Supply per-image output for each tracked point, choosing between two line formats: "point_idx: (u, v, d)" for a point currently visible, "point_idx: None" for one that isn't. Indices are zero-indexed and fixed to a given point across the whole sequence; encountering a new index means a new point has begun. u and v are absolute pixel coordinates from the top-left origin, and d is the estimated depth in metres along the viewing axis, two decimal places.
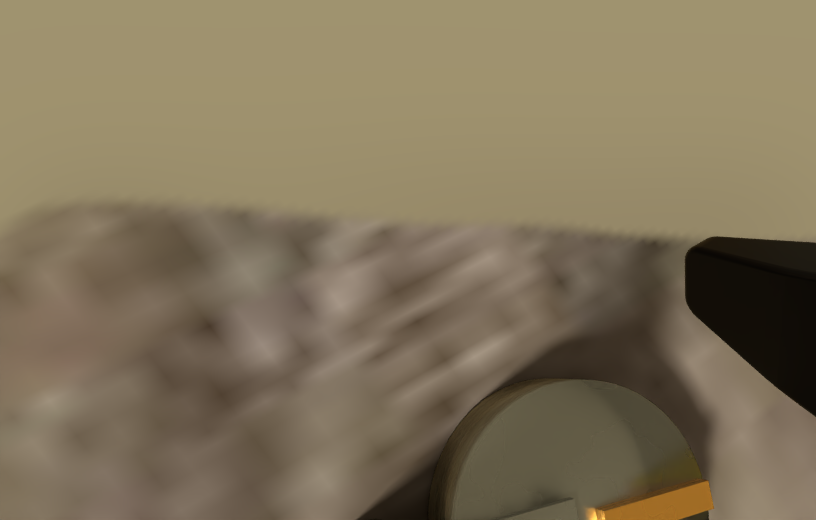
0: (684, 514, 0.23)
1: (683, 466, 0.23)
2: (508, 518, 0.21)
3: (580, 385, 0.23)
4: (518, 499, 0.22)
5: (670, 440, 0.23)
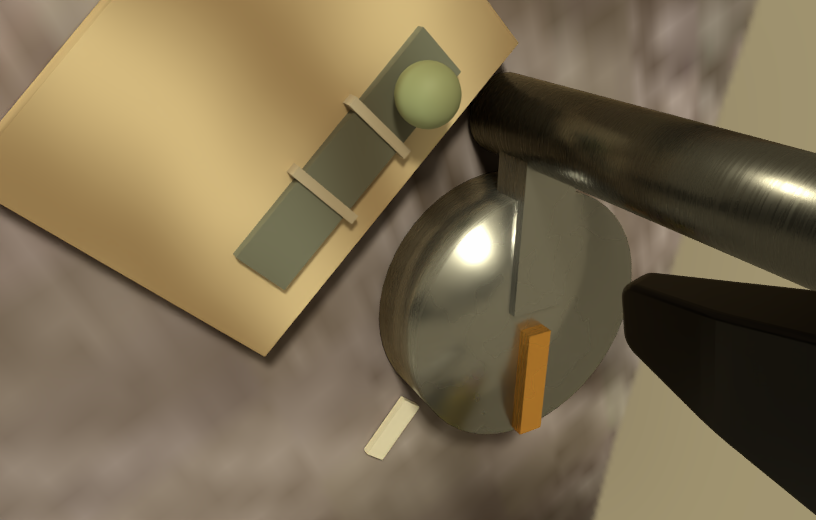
0: (524, 407, 0.25)
1: (543, 405, 0.26)
2: (568, 241, 0.23)
3: (622, 308, 0.26)
4: (569, 251, 0.24)
5: (564, 391, 0.26)
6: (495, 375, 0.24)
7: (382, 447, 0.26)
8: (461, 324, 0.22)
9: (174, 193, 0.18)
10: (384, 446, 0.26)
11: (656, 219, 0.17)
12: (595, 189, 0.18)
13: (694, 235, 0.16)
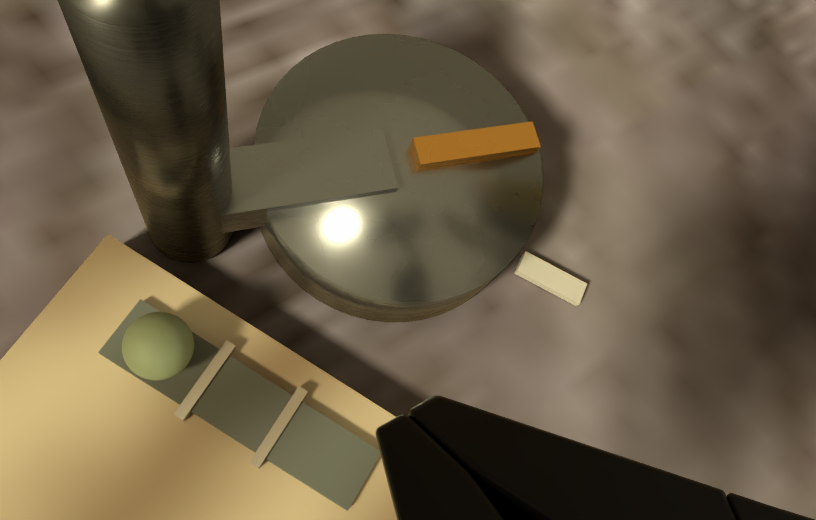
0: (506, 148, 0.22)
1: (509, 117, 0.23)
2: (308, 138, 0.21)
3: (390, 39, 0.23)
4: (323, 129, 0.21)
5: (493, 93, 0.23)
6: (470, 191, 0.22)
7: (571, 287, 0.24)
8: (409, 249, 0.21)
9: None
10: (571, 284, 0.24)
11: (213, 126, 0.15)
12: (211, 173, 0.17)
13: (210, 98, 0.14)
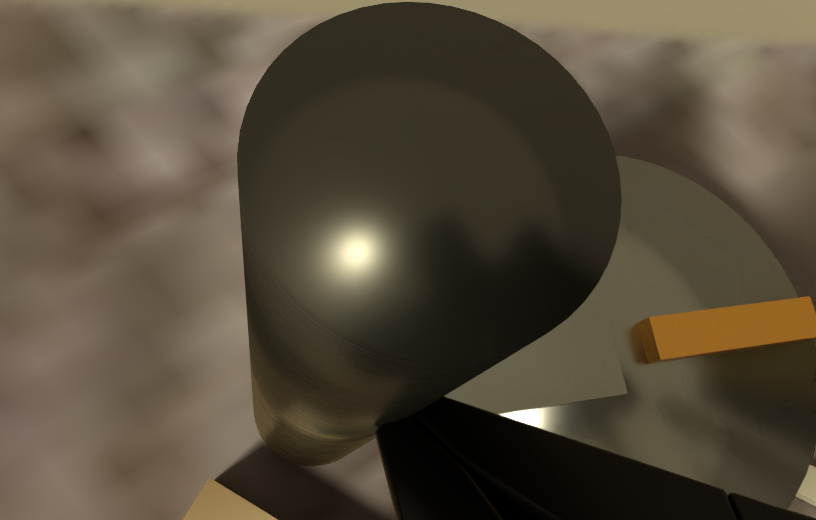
0: (777, 338, 0.15)
1: (770, 283, 0.16)
2: None
3: None
4: None
5: (746, 246, 0.16)
6: (722, 397, 0.15)
7: None
8: None
9: None
10: None
11: None
12: None
13: None
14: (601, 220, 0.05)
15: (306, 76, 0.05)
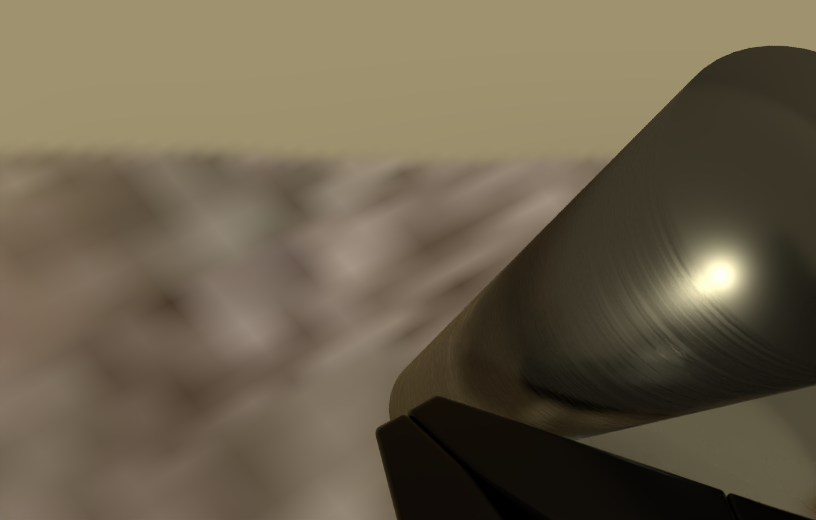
0: None
1: None
2: (662, 437, 0.14)
3: None
4: (684, 435, 0.14)
5: None
6: None
7: None
8: None
9: None
10: None
11: None
12: None
13: None
14: None
15: (757, 74, 0.06)
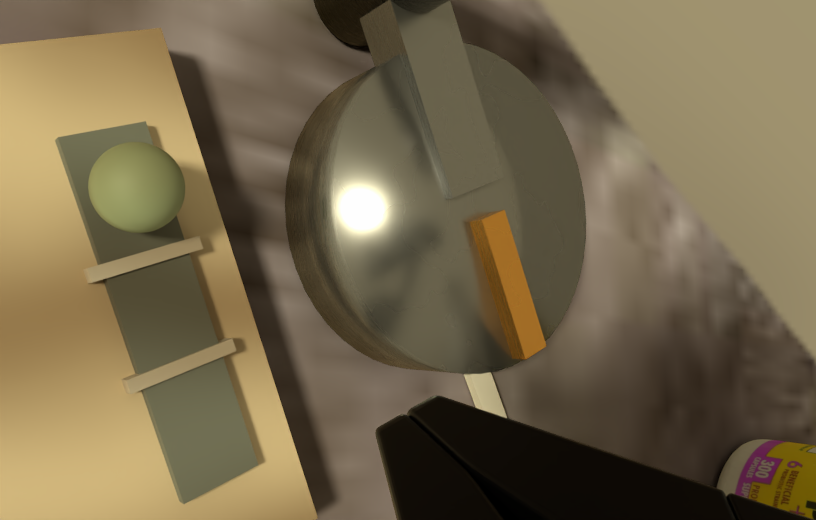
0: (515, 319, 0.19)
1: (539, 324, 0.20)
2: (478, 97, 0.19)
3: (577, 185, 0.22)
4: (486, 116, 0.20)
5: (556, 302, 0.21)
6: (462, 286, 0.19)
7: None
8: (392, 219, 0.17)
9: None
10: None
11: None
12: None
13: None
14: None
15: None
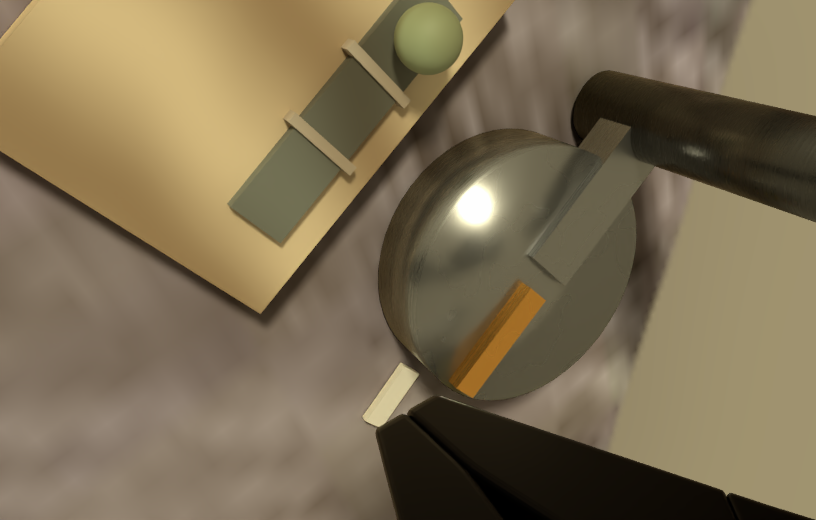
0: (479, 360, 0.23)
1: None
2: (605, 231, 0.24)
3: (585, 347, 0.26)
4: (594, 246, 0.24)
5: (501, 387, 0.24)
6: (477, 307, 0.22)
7: (381, 414, 0.25)
8: (496, 224, 0.22)
9: (166, 136, 0.17)
10: (383, 414, 0.25)
11: (769, 172, 0.19)
12: (709, 145, 0.20)
13: (809, 184, 0.18)
14: None
15: None
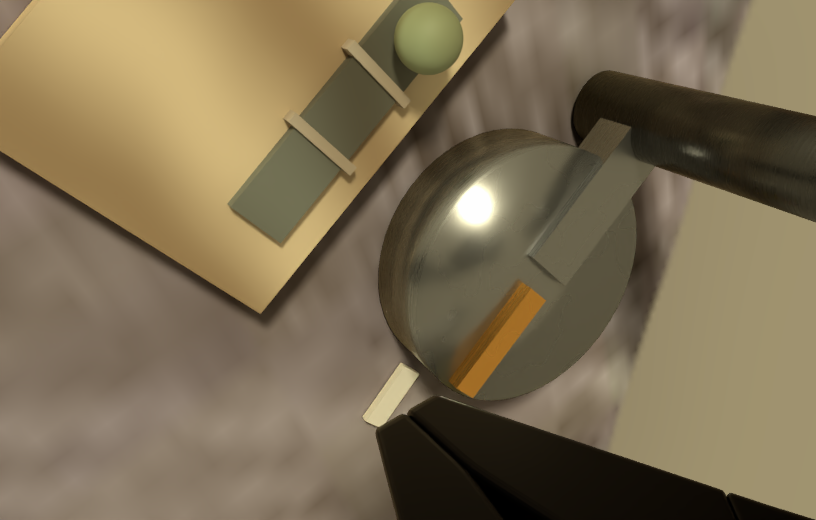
0: (479, 360, 0.23)
1: None
2: (605, 231, 0.24)
3: (585, 347, 0.26)
4: (594, 246, 0.24)
5: (501, 387, 0.24)
6: (477, 307, 0.22)
7: (381, 414, 0.25)
8: (496, 224, 0.22)
9: (167, 136, 0.17)
10: (383, 414, 0.25)
11: (769, 172, 0.19)
12: (709, 144, 0.20)
13: (809, 184, 0.18)
14: None
15: None
